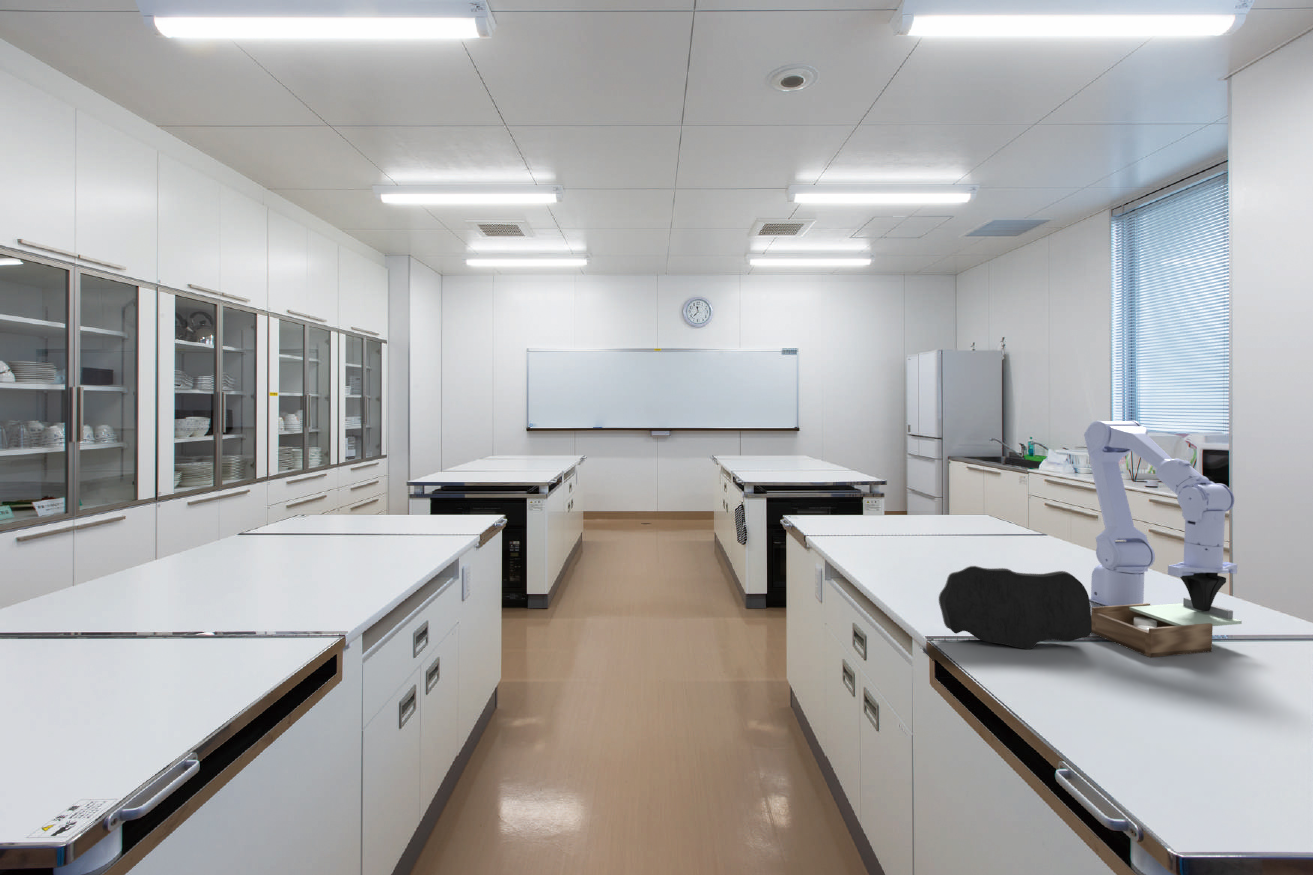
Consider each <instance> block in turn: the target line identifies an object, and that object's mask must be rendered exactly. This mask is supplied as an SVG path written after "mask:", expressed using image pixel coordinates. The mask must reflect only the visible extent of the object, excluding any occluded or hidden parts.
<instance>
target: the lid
mask: <svg viewBox="0 0 1313 875" xmlns="http://www.w3.org/2000/svg"><path fill="white" fill-rule="evenodd" d="M1129 610H1131V611H1134V612H1137V613H1140V614H1143V615H1146V616H1149V617H1152V618H1155V619H1157V620H1160V621H1163V622H1166V623H1169V624H1172V625H1175V626H1181V625H1193V624H1206V623H1211V624H1213V627H1220V626H1234V625H1242V623H1243V622H1242V620H1240V619H1236V618H1234V610H1232V609H1229V608H1225V607H1222V606H1218V605H1215V604H1212V605H1211V607H1210V610H1209V611H1201V610H1198V609H1195V608H1193V605H1192V602H1191V598H1190V597H1183V602H1179V603H1178V602H1177V603H1168V604H1167V603H1166V604H1152V605H1151V604H1150V606H1136V607H1130V608H1129Z"/></svg>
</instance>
